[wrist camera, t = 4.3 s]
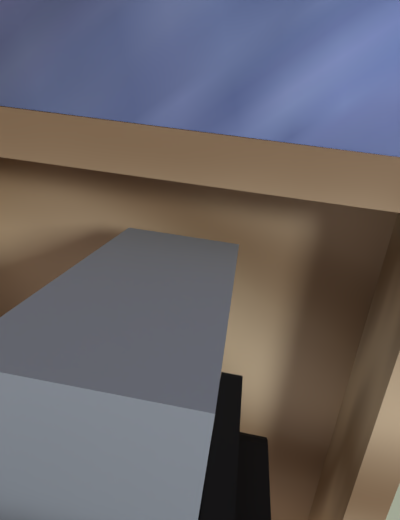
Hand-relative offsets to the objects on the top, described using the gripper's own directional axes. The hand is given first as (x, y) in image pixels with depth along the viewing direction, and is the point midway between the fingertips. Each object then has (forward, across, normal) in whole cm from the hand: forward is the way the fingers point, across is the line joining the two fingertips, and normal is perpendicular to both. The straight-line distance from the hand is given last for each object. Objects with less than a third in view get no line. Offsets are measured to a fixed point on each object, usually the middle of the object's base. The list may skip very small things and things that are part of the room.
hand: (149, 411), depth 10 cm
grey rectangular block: (+3, 0, 0) cm, 3 cm away
